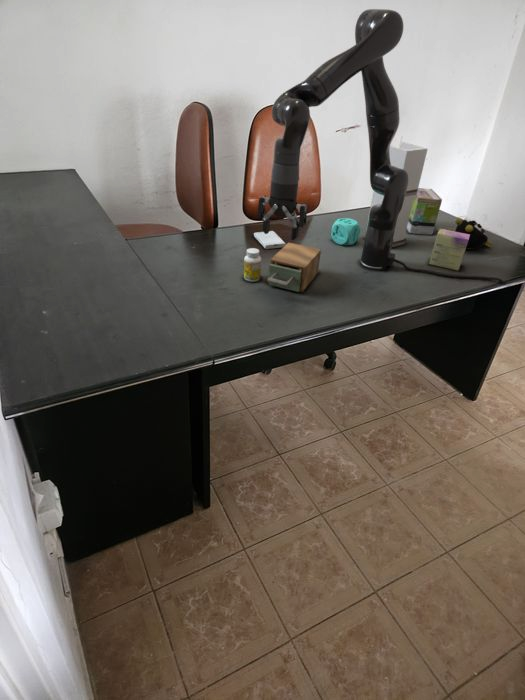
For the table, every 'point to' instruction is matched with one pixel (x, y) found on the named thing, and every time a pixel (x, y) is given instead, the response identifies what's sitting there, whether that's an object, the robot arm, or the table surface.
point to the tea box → (424, 212)
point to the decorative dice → (345, 231)
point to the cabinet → (300, 260)
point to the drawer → (285, 276)
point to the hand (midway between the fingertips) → (279, 236)
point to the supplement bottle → (252, 265)
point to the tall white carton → (412, 163)
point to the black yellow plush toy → (472, 233)
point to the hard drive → (269, 240)
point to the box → (449, 249)
